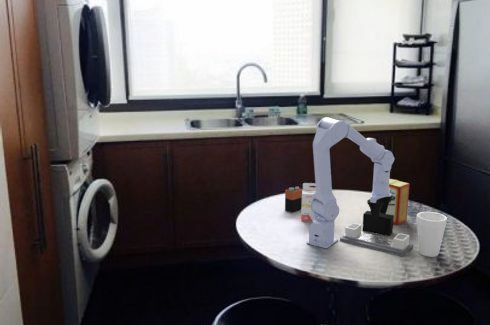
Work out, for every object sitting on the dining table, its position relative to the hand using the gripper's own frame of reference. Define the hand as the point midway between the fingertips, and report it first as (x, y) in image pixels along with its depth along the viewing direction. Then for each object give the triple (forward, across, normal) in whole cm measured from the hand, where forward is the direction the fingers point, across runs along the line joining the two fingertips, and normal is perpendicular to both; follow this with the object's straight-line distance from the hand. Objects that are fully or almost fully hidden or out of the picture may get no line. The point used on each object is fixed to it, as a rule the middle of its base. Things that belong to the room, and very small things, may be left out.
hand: (379, 216), depth 187 cm
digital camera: (+6, 0, 0) cm, 6 cm away
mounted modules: (+4, -12, -4) cm, 13 cm away
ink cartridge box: (+6, -4, +26) cm, 27 cm away
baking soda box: (+6, +14, 0) cm, 15 cm away
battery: (+6, +2, +38) cm, 39 cm away
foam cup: (+6, -9, -21) cm, 24 cm away
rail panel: (+6, -12, -4) cm, 14 cm away
